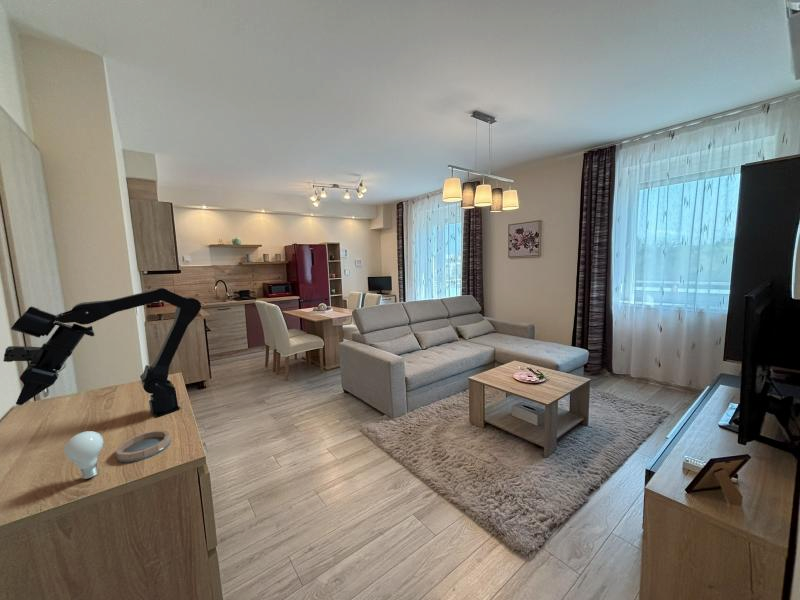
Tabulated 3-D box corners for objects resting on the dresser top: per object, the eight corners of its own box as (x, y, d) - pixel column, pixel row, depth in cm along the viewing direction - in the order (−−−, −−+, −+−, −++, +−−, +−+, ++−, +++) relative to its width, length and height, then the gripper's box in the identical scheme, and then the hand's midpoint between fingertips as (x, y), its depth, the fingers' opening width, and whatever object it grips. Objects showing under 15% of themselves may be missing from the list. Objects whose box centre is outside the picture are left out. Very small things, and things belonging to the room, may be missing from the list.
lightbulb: (76, 490, 70) (66, 444, 68) (67, 481, 73) (58, 436, 71) (113, 473, 75) (105, 430, 73) (103, 465, 78) (95, 423, 77)
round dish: (162, 432, 92) (161, 425, 92) (177, 445, 86) (176, 438, 85) (111, 452, 83) (110, 445, 83) (123, 468, 77) (122, 460, 76)
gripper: (27, 327, 90) (-15, 380, 85) (15, 338, 76) (-35, 401, 72) (77, 342, 97) (41, 392, 92) (74, 355, 83) (32, 413, 79)
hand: (21, 399), depth 84 cm, fingers open, 9 cm apart
